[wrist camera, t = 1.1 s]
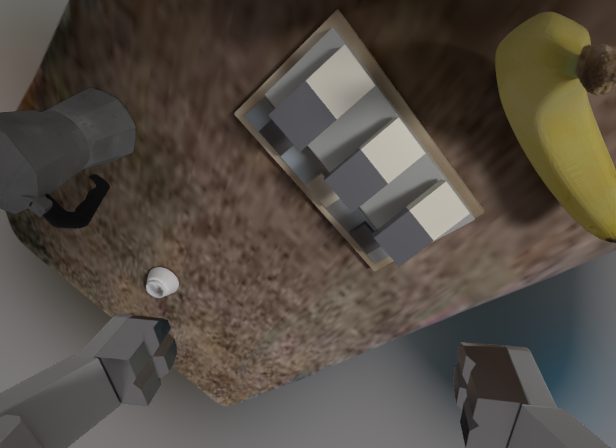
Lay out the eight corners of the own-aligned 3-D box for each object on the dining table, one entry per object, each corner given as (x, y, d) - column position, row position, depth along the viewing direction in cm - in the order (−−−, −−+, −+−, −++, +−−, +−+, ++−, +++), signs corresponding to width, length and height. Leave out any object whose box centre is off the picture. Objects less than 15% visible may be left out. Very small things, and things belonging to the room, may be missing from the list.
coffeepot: (46, 113, 46) (-125, 162, 31) (72, 55, 41) (-115, 79, 26) (144, 195, 49) (33, 276, 34) (178, 150, 45) (67, 220, 29)
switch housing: (335, 26, 33) (332, 27, 32) (471, 210, 40) (474, 219, 38) (270, 90, 38) (264, 94, 36) (402, 248, 44) (403, 257, 42)
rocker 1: (341, 48, 33) (344, 44, 31) (369, 86, 34) (375, 85, 32) (270, 114, 35) (268, 115, 32) (299, 148, 36) (299, 151, 34)
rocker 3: (436, 176, 37) (446, 181, 35) (459, 206, 39) (470, 213, 36) (369, 229, 39) (373, 237, 37) (392, 257, 40) (398, 266, 38)
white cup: (184, 277, 56) (157, 260, 55) (175, 290, 53) (146, 271, 53) (173, 295, 58) (146, 278, 58) (163, 307, 56) (135, 290, 55)
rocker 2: (391, 116, 35) (398, 117, 33) (417, 150, 36) (425, 153, 34) (322, 175, 37) (324, 180, 35) (348, 206, 38) (352, 212, 36)
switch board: (338, 9, 34) (335, 8, 32) (482, 208, 40) (486, 216, 39) (237, 111, 41) (230, 115, 39) (374, 266, 47) (373, 276, 46)
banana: (621, 195, 37) (815, 349, 20) (560, 222, 39) (686, 377, 23) (522, -4, 30) (686, -28, 14) (458, 43, 33) (527, 73, 16)
